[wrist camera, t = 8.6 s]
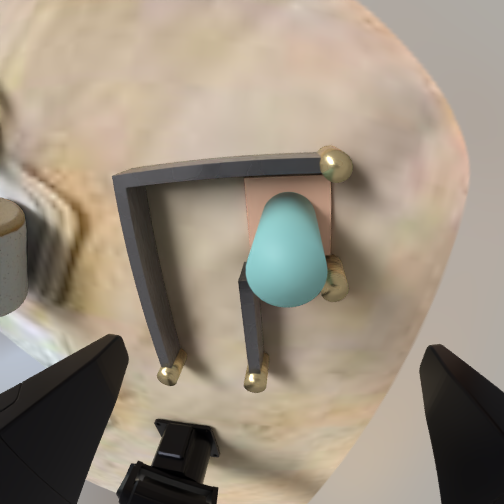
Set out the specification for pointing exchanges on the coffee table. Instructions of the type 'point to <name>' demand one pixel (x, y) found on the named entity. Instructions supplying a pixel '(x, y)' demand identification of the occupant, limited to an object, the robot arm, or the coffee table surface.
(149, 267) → the metal rail track
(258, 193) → the pad
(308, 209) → the peg
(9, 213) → the ceramic mug
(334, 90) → the coffee table surface
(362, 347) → the coffee table surface
